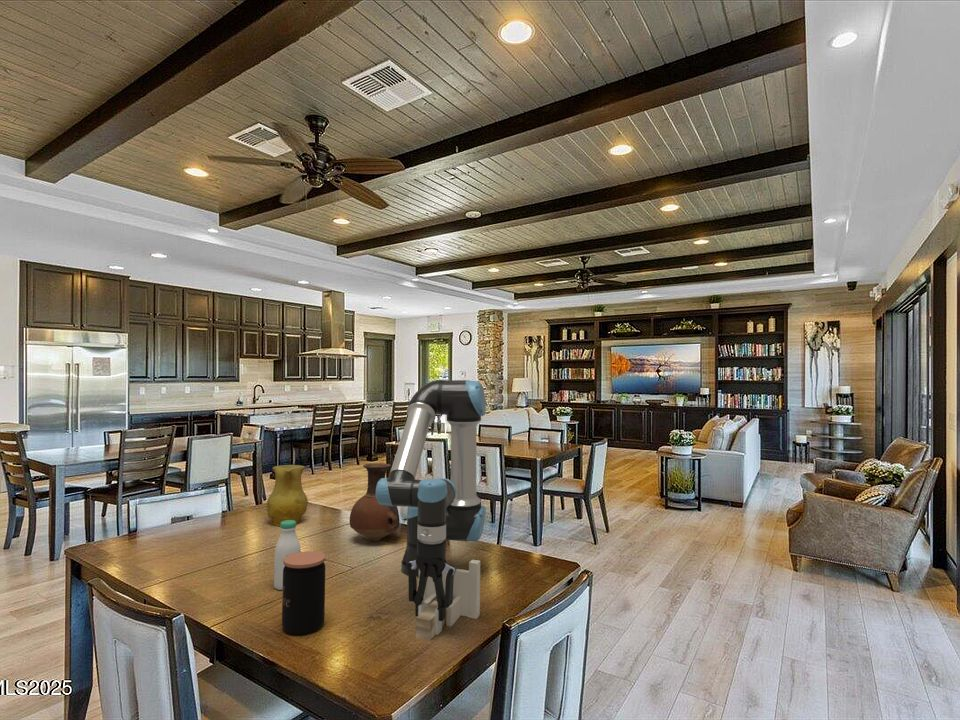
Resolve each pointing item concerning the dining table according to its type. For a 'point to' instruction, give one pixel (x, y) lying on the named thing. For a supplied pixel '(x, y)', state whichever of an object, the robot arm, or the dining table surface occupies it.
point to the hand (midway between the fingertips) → (429, 630)
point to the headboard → (459, 593)
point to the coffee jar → (303, 592)
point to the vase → (374, 508)
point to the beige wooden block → (427, 622)
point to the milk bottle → (284, 550)
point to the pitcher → (287, 495)
